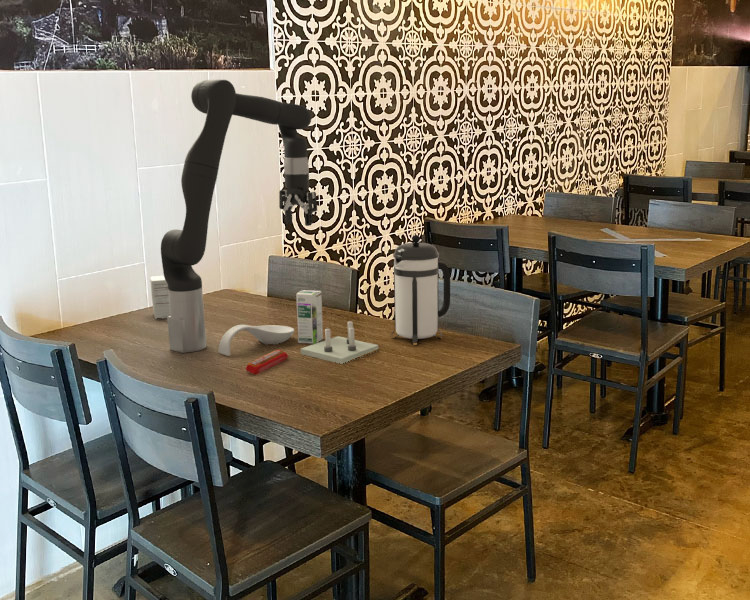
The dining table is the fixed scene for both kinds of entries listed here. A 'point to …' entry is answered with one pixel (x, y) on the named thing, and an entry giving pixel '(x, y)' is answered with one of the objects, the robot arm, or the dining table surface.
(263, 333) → the spoon rest
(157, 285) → the mini drawer cabinet
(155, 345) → the dining table surface
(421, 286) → the coffee press
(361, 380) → the dining table surface
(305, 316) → the syrup box
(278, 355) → the candy bar
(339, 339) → the pale green square stand
